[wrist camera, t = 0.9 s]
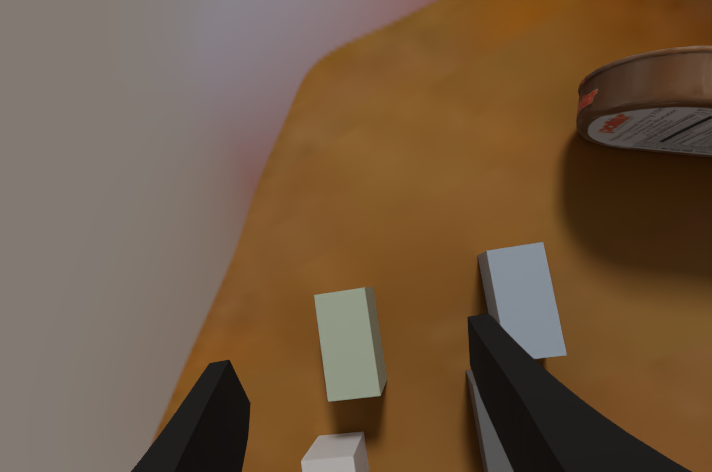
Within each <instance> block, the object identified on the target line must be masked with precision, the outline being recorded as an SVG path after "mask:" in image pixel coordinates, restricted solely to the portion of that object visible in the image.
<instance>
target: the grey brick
mask: <svg viewBox="0 0 712 472" xmlns="http://www.w3.org/2000/svg"><path fill="white" fill-rule="evenodd" d="M301 464H302V472H369V466H368V459H367V452H366V444H365V437H364V431H363V432H353V433H343V434H333V435H323V436H318V437H317V439H316V440H315V442H314V443H313V445H312V446H311V447H310V449H309V450H308V452H307V453H306V455H305V456H304V457H303V459H302V460H301Z"/></svg>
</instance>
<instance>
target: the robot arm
mask: <svg viewBox="0 0 712 472" xmlns="http://www.w3.org/2000/svg"><path fill="white" fill-rule="evenodd" d="M468 335H469V353H470V366H471V369H472V372H473V376H474V379H475V382H476V385H477V388H478V391H479V394H480V397H481V400H482V402H483V404H484V406H485V409H486V411H487V413H488V415H489V418H490V420H491V422H492V424H493V427H494V429H495V431H496V433H497V436H498V438H499V440H500V442H501V445H502V447H503V449H504V451H505V453H506V456H507V458H508V460H509V462H510V465H511V467H512V469H513V471H514V472H691V471H689V470H688V469H686V468H684V467H682V466H681V465H679V464H677V463H675V462H674V461H672V460H670V459H669V458H667V457H666V456H664V455H662V454H661V453H659V452H658V451H656V450H654V449H653V448H651V447H650V446H648V445H646V444H645V443H643V442H642V441H640V440H638V439H637V438H635V437H634V436H632V435H630V434H629V433H627V432H626V431H625V430H623V429H622V428H620V427H619V426H617V425H616V424H614V423H613V422H612V421H610V420H609V419H607V418H606V417H604V416H603V415H602V414H600V413H599V412H598V411H596V410H595V409H593V408H592V407H591V406H589V405H588V404H587V403H585V402H584V401H583V400H582V399H580V398H579V397H578V396H577V395H575V394H574V393H573V392H571V391H570V390H569V389H568V388H567V387H565V386H564V385H563V384H562V383H561V382H559V381H558V380H557V379H556V378H555V377H554V376H552V375H551V374H550V373H549V372H548V371H547V370H546V369H544V368H543V367H542V366H541V365H540V364H539V363H538V362H537V361H536V360H535V359H534V358H533V357H531V356H530V355H529V354H528V353H527V352H526V351H525V350H524V349H523V348H522V347H521V346H520V345H519V344H518V343H517V342H516V341H515V340H514V339H513V338H512V337H511V336H510V335H509V334H508V333H507V332H506V331H505V330H504V329H503V327H502V326H501V325H500V324H499V323H498V322H497V321H496V320H495V319H494V318H493V316H491V315H490V314H482V315H476V316H471V317H468ZM249 418H250V402H249V400H248V398H247V395H246V393H245V391H244V389H243V387H242V385H241V383H240V381H239V379H238V377H237V375H236V373H235V371H234V369H233V366H232V364H231V362H230V360H225V361H220V362H214V363H210V364H209V365H208V366H207V368H206V369H205V371H204V372H203V373H202V375H201V376H200V378H199V379H198V381H197V382H196V384H195V385H194V387H193V388H192V390H191V391H190V393H189V394H188V395H187V397H186V398H185V400H184V401H183V403H182V404H181V406H180V407H179V409H178V410H177V411H176V413H175V414H174V416H173V417H172V418H171V420H170V421H169V423H168V424H167V425H166V427H165V428H164V430H163V431H162V432H161V434H160V435H159V436H158V438H157V439H156V440H155V442H154V443H153V444H152V446H151V447H150V448H149V449H148V451H147V452H146V453H145V455H144V456H143V457H142V459H141V460H140V461H139V462H138V464H137V465H136V466H135V467H134V469H133V470H132V471H131V472H242V467H243V462H244V457H245V451H246V446H247V440H248V431H249Z"/></svg>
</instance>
